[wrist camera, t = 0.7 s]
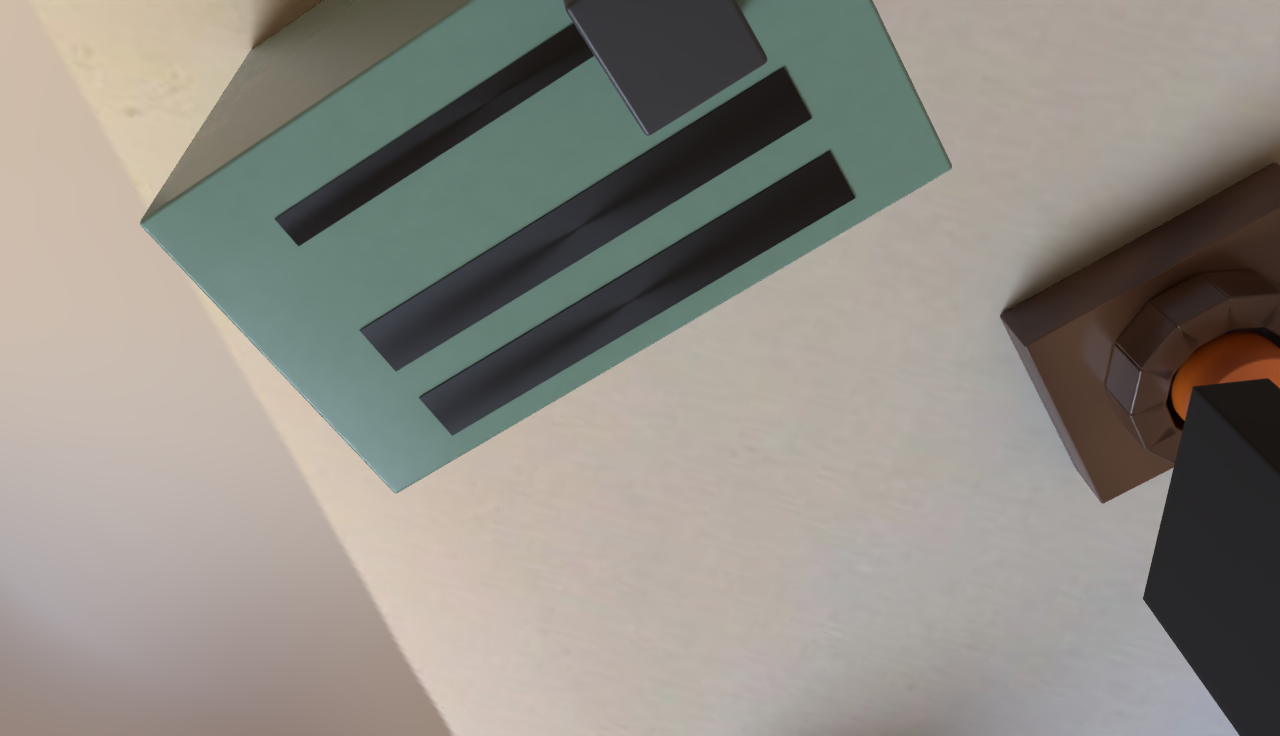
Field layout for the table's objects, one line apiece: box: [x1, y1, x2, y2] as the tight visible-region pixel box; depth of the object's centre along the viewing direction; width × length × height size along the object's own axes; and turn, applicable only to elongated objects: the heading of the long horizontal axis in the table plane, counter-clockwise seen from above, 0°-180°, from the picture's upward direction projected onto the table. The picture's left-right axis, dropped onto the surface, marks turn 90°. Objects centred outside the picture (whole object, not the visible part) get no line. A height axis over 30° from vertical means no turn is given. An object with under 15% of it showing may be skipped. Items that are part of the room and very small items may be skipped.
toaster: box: [140, 0, 952, 493], centre depth 28 cm, size 14×8×12 cm, turn 121°
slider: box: [563, 0, 767, 136], centre depth 20 cm, size 2×3×3 cm
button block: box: [1000, 163, 1280, 503], centre depth 39 cm, size 10×8×4 cm
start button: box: [1171, 332, 1280, 421], centre depth 37 cm, size 4×4×2 cm
